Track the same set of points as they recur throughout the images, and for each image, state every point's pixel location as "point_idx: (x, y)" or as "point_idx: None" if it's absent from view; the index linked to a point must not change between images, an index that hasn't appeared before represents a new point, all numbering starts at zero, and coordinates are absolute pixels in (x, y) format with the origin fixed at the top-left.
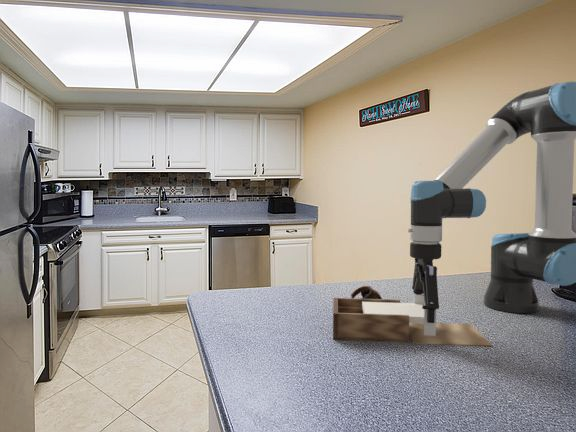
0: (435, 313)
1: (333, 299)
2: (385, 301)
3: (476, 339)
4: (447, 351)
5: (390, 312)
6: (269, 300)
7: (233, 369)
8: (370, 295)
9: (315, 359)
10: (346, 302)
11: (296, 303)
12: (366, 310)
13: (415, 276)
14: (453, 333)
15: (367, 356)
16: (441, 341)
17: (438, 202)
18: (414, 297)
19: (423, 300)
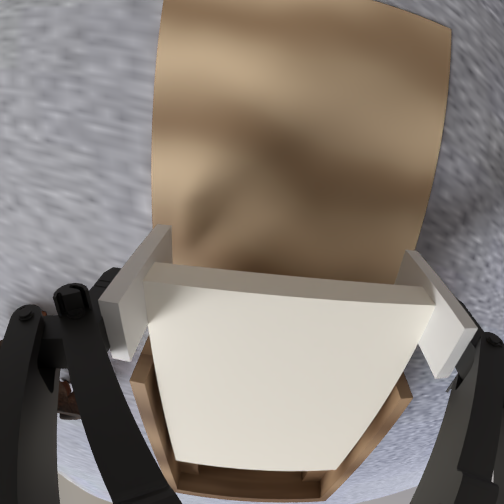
0: (465, 314)
1: (189, 494)
2: (156, 418)
3: (394, 47)
4: (471, 224)
5: (322, 431)
6: (86, 466)
7: (393, 489)
8: (59, 405)
9: (402, 453)
10: (176, 472)
11: (81, 447)
12: (288, 468)
13: (54, 458)
14: (315, 113)
15: (426, 404)
16: (407, 214)
17: None
18: (136, 348)
19: (134, 286)
